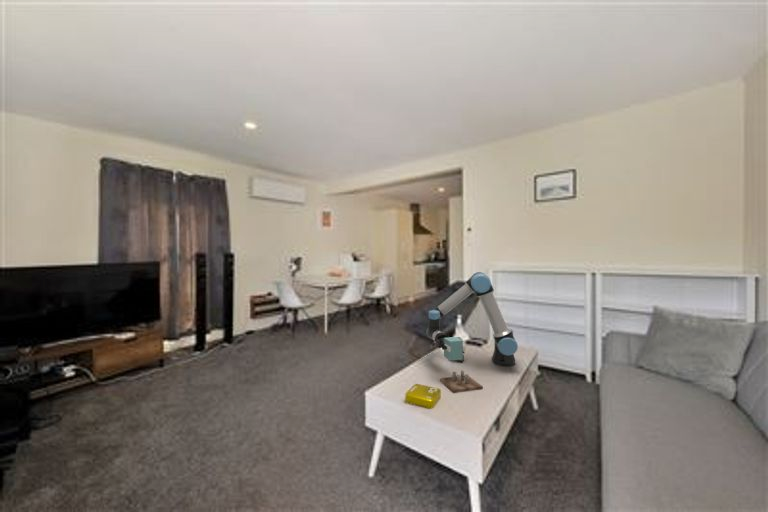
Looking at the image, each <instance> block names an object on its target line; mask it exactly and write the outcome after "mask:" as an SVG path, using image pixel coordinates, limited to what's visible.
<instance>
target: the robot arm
mask: <svg viewBox="0 0 768 512" xmlns="http://www.w3.org/2000/svg"><path fill="white" fill-rule="evenodd" d="M494 290H495V289H494V287H493V285H492V281H491V278H490V277H489V276H488V275H487V274H486V273H484V272H481V271H479V272H476V273H473V274H472V276H471V277H469V278H468V279H467V280H466V281H465V282H464V285H462V286H461V287H460V288H459V289H457V290H456V291H455V292H453V293H452V294H451V295H450V296H448V298H447V299H445V300H444V301H443V302H442V303H441V304H439V305H438V306H436V307H435V308H434V309H432V310H429V311H428V328H427V329H426V332H425V333H426V336H427V337H428V338H429V339H430V340H432V341H433V343H434V345H436V347H437V348H438V349H441V350H443V351H444V349H446V350H447V351H448V352H451V347H449V346H448V345H446V344H444V338H448V336H447V334H445V333H444V332H442V331H441V323H440V322H441V319H442V318H443V317H444V316H445V315H446V314H448V313H449V312H450V311H452V310H453V309H454V308H456V307H457V306H458V305H460V303H462V301H464V300H465V299H467V298H468V297H469V296H470V295H472V294H474V295H475V297H476V298H479V299H480V302H481V304H482V307H483V309H484V311H485V314H486V316H487V319H488V321H489V324H490V326H491V328H492V331H493V334H492V336H493V339H494V349H493V352H492V353H493V354H492V356H491V362H492V363H493V364H494V365H495V364H496V365H497V366H498V365H499V366H503V367H508V366H509V367H511V366H515V365H516V358H515V355H514V354H515V353H517V350H518V342H517V340H516V339H515V337H514V330H513V329H511V328H509V327H508V326H507V324H506V321H505V320H504V317H503V315H502V313H501V310H500V308H499V305H498V303H497V300H496V298H495V296H494V294H493V293H494ZM465 347H466V346H465V345H463V351H464V352H465Z"/></svg>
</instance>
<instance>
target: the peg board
mask: <svg viewBox="0 0 768 512" xmlns="http://www.w3.org/2000/svg"><path fill="white" fill-rule="evenodd" d="M439 381H440V382H441V383H442V384H443V385H444V386H445V387H446V388H447V389H448V390H449V391H450V392H452V393H453V394H455V393H456V394H457V393H463V392H469V391H470V392H471V391H476V390H477V391H479V390H483V385H482V384H481V383H479V382H478V381H476V380H475V379H474V378H472V377H471V376H470V375H469V373H465V371H464V370H461V371H460V374H458V375H457V372H456V371H452V376H449V377H440V378H439Z"/></svg>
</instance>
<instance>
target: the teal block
mask: <svg viewBox="0 0 768 512" xmlns="http://www.w3.org/2000/svg"><path fill="white" fill-rule="evenodd" d="M447 337H448V336H447ZM457 337H458V336H452V337H450V336H449V337H448V338H444V344H446V345H448V346H449V347H451V352H448V351H447V350H446V349H444V350H443V357H444V358H446V359H447V360H448V361H450V362H451V361H461V360H462V359H463V346H464V344H463V343H464V341H462V340H463V339H462V338H461V339H462V340H461V339H459V338H457Z"/></svg>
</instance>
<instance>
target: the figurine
mask: <svg viewBox="0 0 768 512" xmlns="http://www.w3.org/2000/svg"><path fill="white" fill-rule="evenodd" d="M456 337H457V338H459V339H461V340H462V341H463V339H462V338H461V337H460V336H456ZM463 342H464V341H463ZM464 354H465V350H464V351H463V359H462V360H460V363H462V364H463V363H464V361H465V355H464Z"/></svg>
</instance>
